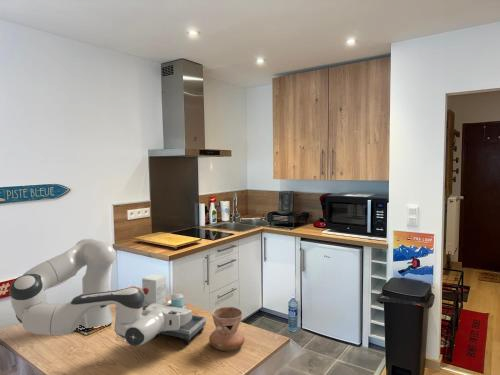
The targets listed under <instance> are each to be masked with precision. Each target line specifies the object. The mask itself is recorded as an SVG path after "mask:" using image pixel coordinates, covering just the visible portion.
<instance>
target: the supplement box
mask: <svg viewBox="0 0 500 375" xmlns="http://www.w3.org/2000/svg"><path fill="white" fill-rule="evenodd" d="M166 278H167V276H166V275H164V274H157V273H151V274H149V275H147V276H144V277H142V280H141V283H142V288H141V292H142V293H143V294H144V296H145V299H144V304H143V307H146V308H147V307H148V306H149V305H151V304H154V303H156V304H161V305H164V304H165V303H166V302H167V301H166V300H167V298H166V296H167V293H166V290H167V287H166V285H167V284H166V282H167V281H166V280H167V279H166Z"/></svg>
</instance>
